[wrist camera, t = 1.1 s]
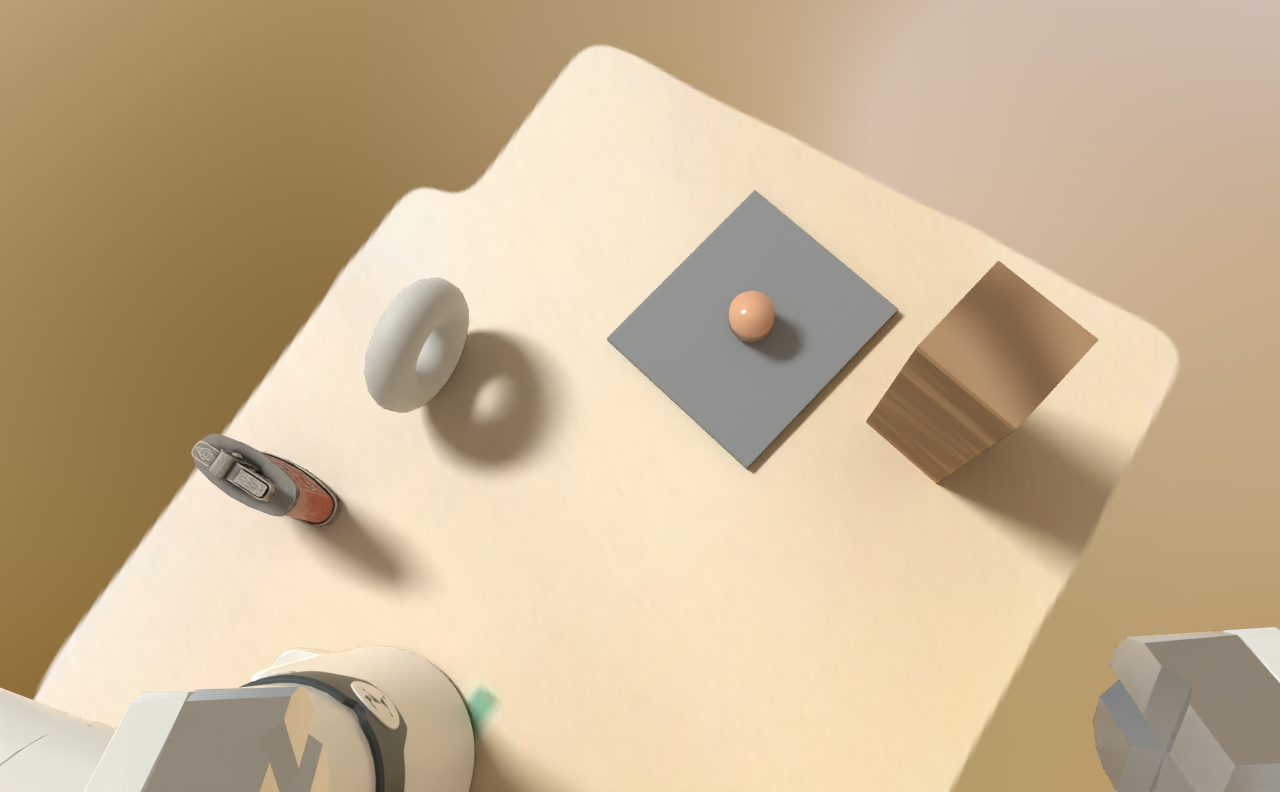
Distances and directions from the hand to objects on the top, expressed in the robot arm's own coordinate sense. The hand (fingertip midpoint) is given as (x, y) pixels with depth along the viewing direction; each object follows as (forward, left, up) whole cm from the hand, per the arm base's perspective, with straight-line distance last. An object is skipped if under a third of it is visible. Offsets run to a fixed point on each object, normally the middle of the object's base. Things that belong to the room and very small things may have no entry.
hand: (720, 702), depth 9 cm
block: (+21, 0, -56) cm, 60 cm away
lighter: (-14, +30, -57) cm, 66 cm away
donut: (0, +29, -57) cm, 63 cm away
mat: (+18, +14, -56) cm, 61 cm away
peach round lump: (+18, +14, -56) cm, 61 cm away
